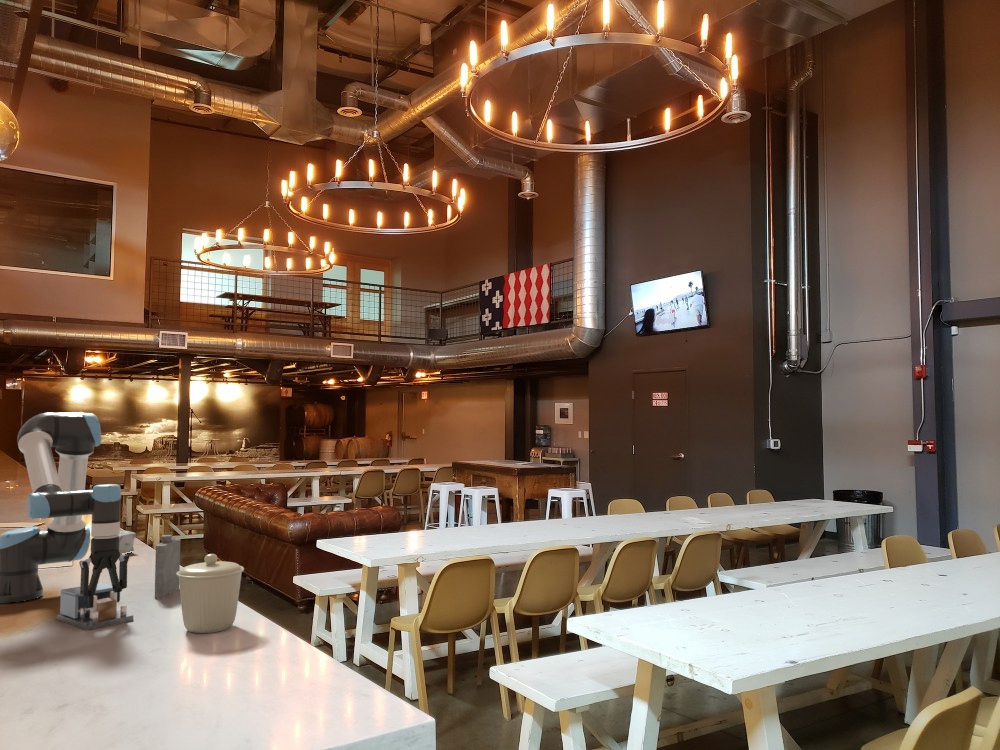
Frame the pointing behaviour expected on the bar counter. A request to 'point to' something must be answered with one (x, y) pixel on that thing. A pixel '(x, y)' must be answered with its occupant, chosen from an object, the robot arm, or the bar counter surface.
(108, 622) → the housing base
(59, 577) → the bar counter surface
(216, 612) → the canister
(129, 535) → the incense holder
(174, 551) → the hip flask
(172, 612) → the bar counter surface
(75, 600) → the housing cover
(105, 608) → the light brown cube
